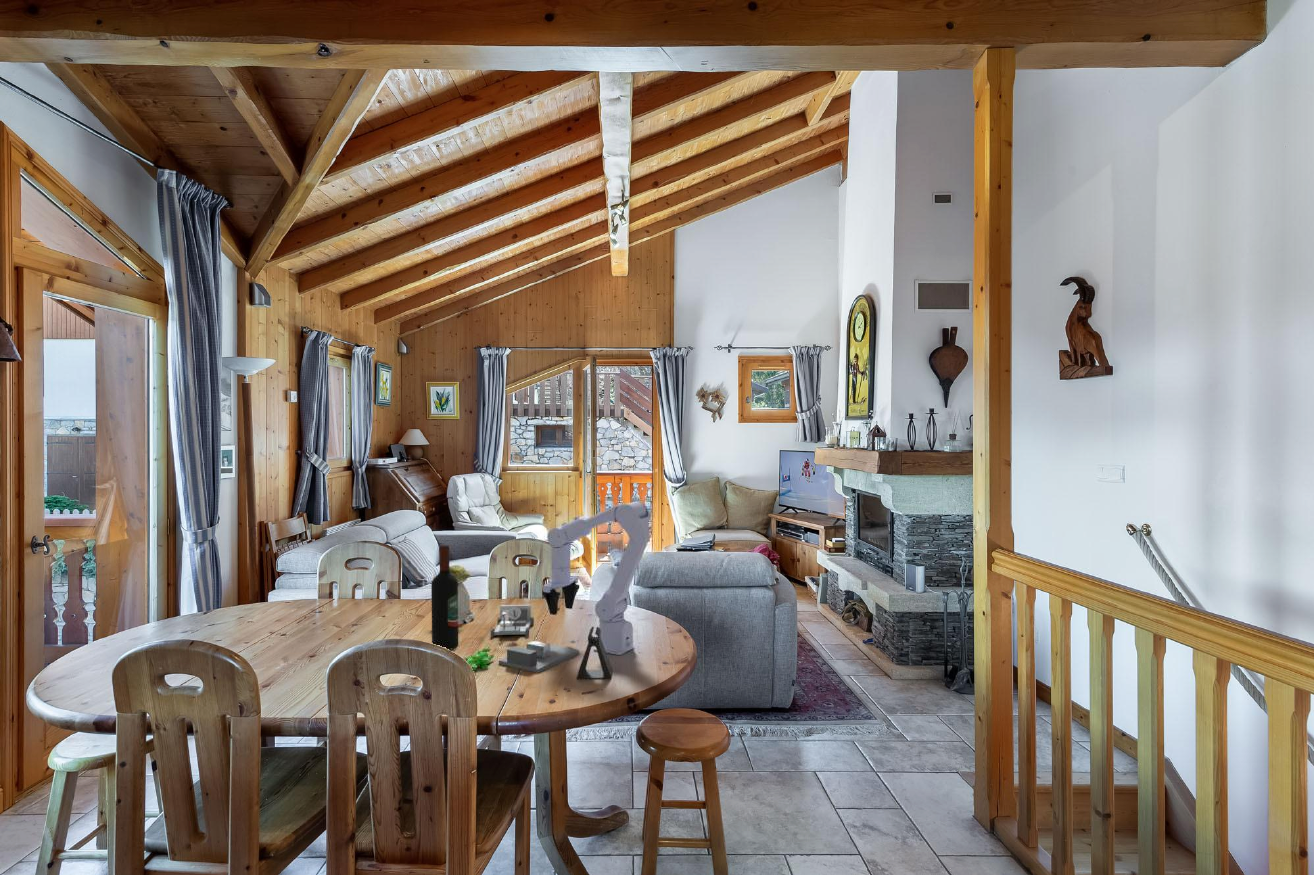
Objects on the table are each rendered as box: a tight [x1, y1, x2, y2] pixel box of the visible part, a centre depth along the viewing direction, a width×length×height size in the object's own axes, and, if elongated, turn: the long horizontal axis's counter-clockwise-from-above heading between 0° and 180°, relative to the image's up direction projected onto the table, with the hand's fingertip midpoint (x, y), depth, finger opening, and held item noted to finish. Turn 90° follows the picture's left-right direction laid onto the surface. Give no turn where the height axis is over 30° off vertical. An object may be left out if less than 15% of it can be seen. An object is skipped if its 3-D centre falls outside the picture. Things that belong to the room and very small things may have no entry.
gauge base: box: [498, 644, 580, 674], centre depth 196 cm, size 14×18×4 cm
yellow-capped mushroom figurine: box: [449, 565, 476, 626], centre depth 236 cm, size 12×13×18 cm
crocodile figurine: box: [463, 647, 495, 673], centre depth 187 cm, size 7×18×4 cm, turn 160°
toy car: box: [490, 604, 535, 639], centre depth 222 cm, size 18×10×12 cm
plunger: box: [526, 640, 551, 658], centre depth 196 cm, size 9×3×3 cm, turn 60°
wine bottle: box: [430, 544, 459, 650], centre depth 207 cm, size 8×8×30 cm
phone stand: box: [576, 626, 613, 680], centre depth 182 cm, size 9×6×12 cm, turn 90°
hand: (561, 611), depth 210 cm, fingers open, 7 cm apart
